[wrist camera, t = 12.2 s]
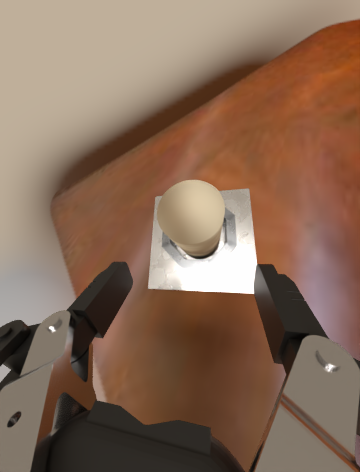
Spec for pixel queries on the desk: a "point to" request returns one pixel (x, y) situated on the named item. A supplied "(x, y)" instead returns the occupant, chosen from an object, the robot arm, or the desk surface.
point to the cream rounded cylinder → (192, 217)
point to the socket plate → (216, 266)
